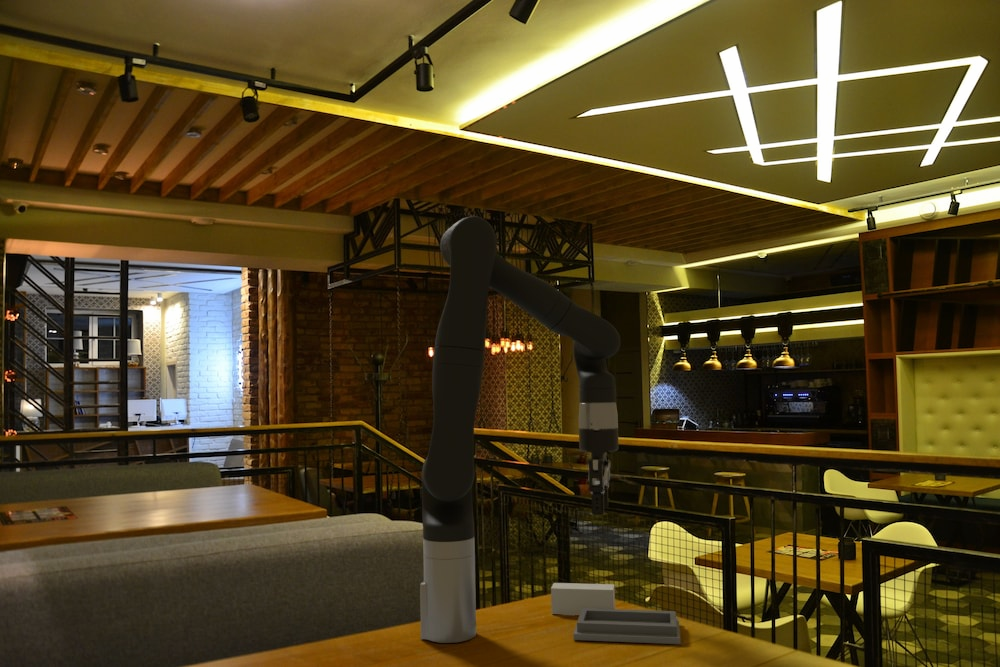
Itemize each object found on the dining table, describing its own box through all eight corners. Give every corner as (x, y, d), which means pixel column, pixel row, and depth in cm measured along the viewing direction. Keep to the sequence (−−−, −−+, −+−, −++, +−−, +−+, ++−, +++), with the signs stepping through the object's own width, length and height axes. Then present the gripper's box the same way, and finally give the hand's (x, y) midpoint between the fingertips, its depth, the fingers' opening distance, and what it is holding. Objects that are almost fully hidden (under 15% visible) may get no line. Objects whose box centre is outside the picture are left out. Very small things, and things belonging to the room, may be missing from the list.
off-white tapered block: (614, 616, 147) (613, 589, 148) (551, 614, 150) (550, 588, 150) (615, 610, 152) (614, 584, 152) (554, 608, 154) (553, 582, 155)
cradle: (680, 644, 130) (680, 628, 130) (573, 639, 133) (573, 624, 133) (678, 623, 141) (678, 609, 142) (580, 620, 145) (580, 606, 145)
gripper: (583, 425, 157) (585, 506, 156) (574, 427, 143) (575, 516, 142) (620, 424, 155) (622, 506, 154) (614, 427, 142) (617, 517, 140)
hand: (600, 511), depth 148 cm, fingers open, 8 cm apart
